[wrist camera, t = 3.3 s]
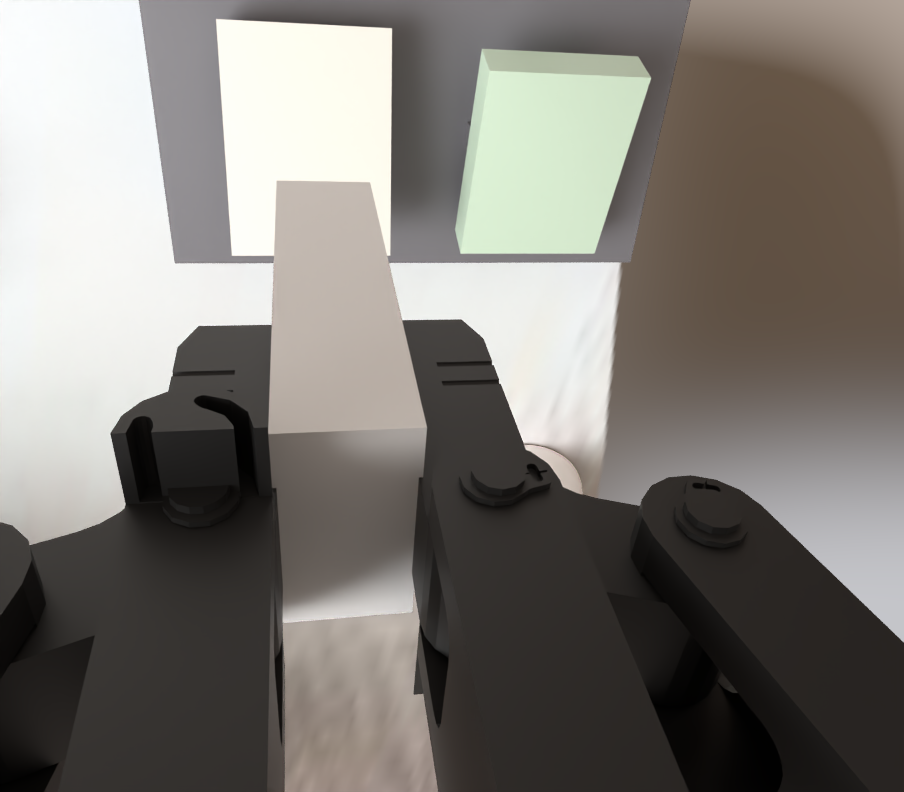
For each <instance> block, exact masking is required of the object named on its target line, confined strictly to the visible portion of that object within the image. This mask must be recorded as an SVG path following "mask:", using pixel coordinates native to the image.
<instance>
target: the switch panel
mask: <svg viewBox="0 0 904 792" xmlns="http://www.w3.org/2000/svg"><path fill="white" fill-rule="evenodd" d="M690 1H691V0H139V5H140V12H141V19H142V27H143V34H144V41H145V48H146V56H147V63H148V70H149V78H150V85H151V92H152V99H153V107H154V114H155V121H156V129H157V136H158V143H159V150H160V158H161V165H162V172H163V180H164V187H165V194H166V201H167V209H168V216H169V223H170V231H171V238H172V245H173V253H174V260H175V263H274V256H232V249H231V235H230V220H229V205H228V190H227V175H226V160H225V145H224V130H223V115H222V100H221V86H220V71H219V56H218V41H217V26H216V19H225V20H243V21H262V22H281V23H300V24H319V25H338V26H357V27H376V28H392V95H391V231H390V256H387V257H388V262H389V263H497V262H630V261H631V256H632V252H633V248H634V243H635V239H636V235H637V231H638V226H639V222H640V217H641V213H642V209H643V204H644V200H645V195H646V191H647V187H648V183H649V179H650V174H651V170H652V165H653V161H654V157H655V153H656V148H657V143H658V140H659V135H660V131H661V127H662V122H663V118H664V113H665V109H666V105H667V101H668V96H669V92H670V87H671V83H672V79H673V75H674V70H675V66H676V62H677V57H678V53H679V48H680V44H681V40H682V35H683V31H684V26H685V22H686V18H687V14H688V9H689V5H690ZM482 49H499V50H519V51H540V52H560V53H580V54H601V55H621V56H638V57H639V59H640V60H641V62H642V64H643V65H644V67H645V68H646V70H647V72H648V73H649V75H650V77H651V80H650V83H649V86H648V90H647V93H646V96H645V99H644V102H643V105H642V108H641V111H640V114H639V117H638V120H637V124H636V127H635V130H634V133H633V136H632V139H631V142H630V145H629V148H628V151H627V154H626V158H625V161H624V164H623V167H622V170H621V173H620V176H619V179H618V182H617V185H616V188H615V192H614V195H613V198H612V201H611V204H610V207H609V210H608V213H607V216H606V219H605V222H604V226H603V229H602V232H601V235H600V238H599V241H598V244H597V247H596V250H595V253H594V254H461V253H460V249H459V245H458V241H457V236H456V232H455V227H456V220H457V213H458V206H459V200H460V193H461V186H462V179H463V173H464V166H465V159H466V153H467V146H468V139H469V132H470V126H471V119H472V112H473V105H474V99H475V92H476V85H477V79H478V72H479V65H480V58H481V52H482Z"/></svg>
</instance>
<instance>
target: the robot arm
mask: <svg viewBox="0 0 904 792" xmlns="http://www.w3.org/2000/svg"><path fill="white" fill-rule="evenodd" d="M111 438H112V443H113V448H114V452H115V457H116V461H117V466H118V470H119V475H120V480H121V484H122V489H123V493H124V498H125V503H126V506H125V509H124V510H122V511H121V512H120V513H118V514H117V515H115V516H113V517H111V518H109V519H107V520H106V521H104V522H102V523H100V524H98V525H95V526H92V527H90V528H87V529H84V530H81V531H79V532H76V533H72V534H69V535H65V536H62V537H58V538H55V539H51V540H48V541H44V542H41V543H37V544H33V545H29V542H28V540H27V539H26V538H25V537H24V536H23V535H22V534H21V533H20V532H19V531H18V530H16V529H15V528H14V527H13V526H11V525H8V524H4V523H1V522H0V792H284V779H285V665H284V651H283V623H290V622H302V621H314V620H326V619H338V618H349V617H361V616H373V615H385V614H397V613H409V612H413V600H414V589H415V595H416V601H417V607H418V613H419V619H420V626H419V637H418V649H417V660H416V671H415V684H414V695H415V694H424V700H425V707H426V714H427V720H428V727H429V733H430V740H431V746H432V753H433V759H434V766H435V772H436V779H437V785H438V792H904V642H902V641H901V640H900V639H899V638H898V637H897V636H896V635H895V634H894V633H893V632H892V631H891V630H890V629H889V628H888V627H887V626H886V625H885V624H883V622H882V621H881V620H880V619H879V618H877V616H875V615H874V614H873V613H872V612H871V611H870V610H869V609H868V608H867V607H866V606H865V605H864V604H863V603H862V602H861V601H860V600H859V599H858V598H857V597H856V596H855V595H853V593H851V591H850V590H849V589H847V588H846V587H845V586H844V585H843V584H842V583H841V582H840V581H839V580H838V579H837V578H836V577H835V576H834V575H833V574H832V573H831V572H830V571H829V570H828V569H827V568H826V567H825V566H823V565H822V564H821V563H820V562H819V561H818V560H817V559H816V558H815V557H814V556H813V555H812V554H811V553H810V552H809V551H808V550H807V549H806V548H805V547H804V546H803V545H802V544H801V543H800V542H799V541H798V540H797V539H796V538H795V537H793V536H792V535H791V534H790V533H789V532H788V531H787V530H786V529H785V528H784V527H783V526H782V525H781V524H780V523H779V522H778V521H777V520H776V519H775V518H774V517H773V516H772V515H771V514H770V513H768V511H767V510H765V509H764V508H763V507H762V506H761V505H760V504H759V503H757V502H756V501H754V500H753V499H752V498H750V497H749V496H748V495H746V494H745V493H744V492H742V491H741V490H739V489H736V488H734V487H732V486H729V485H727V484H724V483H722V482H720V481H718V480H714V479H708V478H702V477H696V476H680V477H669V478H666V479H664V480H662V481H660V482H658V483H656V484H654V485H652V486H651V487H650V488H649V490H648V491H647V493H646V494H645V496H644V498H643V499H642V501H641V505H640V506H637V505H631V504H625V503H620V502H614V501H609V500H603V499H598V498H594V497H590V496H586V495H582V494H578V493H576V492H573V491H571V490H569V489H567V488H564V487H563V486H562V484H561V481H560V479H559V478H558V476H557V475H556V474H555V472H554V471H553V469H552V468H551V466H550V465H549V464H548V463H547V462H545V461H544V460H542V459H541V458H539V457H538V456H536V455H535V454H533V453H532V452H531V451H528V450H526V449H525V446H524V444H523V441H522V438H521V436H520V433H519V431H518V428H517V425H516V423H515V420H514V418H513V415H512V412H511V410H510V407H509V404H508V402H507V399H506V397H505V394H504V391H503V389H502V386H501V384H499V378H498V376H497V373H496V370H495V368H494V365H492V360H491V357H490V355H489V352H488V350H487V347H486V344H485V342H484V339H483V338H482V337H481V336H480V335H479V334H477V333H476V332H475V331H474V330H473V329H472V328H471V327H469V326H468V325H467V324H466V323H465V322H464V321H462V320H402V318H401V313H400V309H399V305H398V300H397V296H396V292H395V287H394V283H393V279H392V275H391V270H390V266H389V262H388V257H387V253H386V249H385V244H384V240H383V236H382V231H381V227H380V223H379V218H378V214H377V210H376V206H375V201H374V197H373V193H372V188H371V184H370V182H332V181H276V211H275V241H274V272H273V302H272V325H241V326H198V327H197V328H196V329H195V330H194V331H193V332H192V333H191V334H190V336H189V337H188V338H187V339H186V340H185V341H184V342H183V343H182V344H181V345H180V346H179V347H178V349H177V353H176V358H175V363H174V368H173V377H171V382H170V386H169V391H168V392H166V393H163V394H160V395H158V396H155V397H152V398H150V399H147V400H144V401H142V402H140V403H139V404H138V405H136V406H135V407H133V408H132V409H131V410H129V411H128V412H126V413H125V414H124V415H122V416H121V418H120V419H119V421H118V422H117V424H116V426H115V427H114V429H113V431H112V432H111Z"/></svg>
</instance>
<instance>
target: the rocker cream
mask: <svg viewBox="0 0 904 792" xmlns="http://www.w3.org/2000/svg"><path fill="white" fill-rule="evenodd" d="M216 26H217V41H218V56H219V71H220V86H221V100H222V115H223V130H224V145H225V160H226V175H227V190H228V205H229V220H230V235H231V249H232V256H274V241H275V211H276V181H332V182H370V184H371V188H372V193H373V197H374V201H375V206H376V210H377V214H378V218H379V223H380V227H381V231H382V236H383V240H384V244H385V249H386V253H387V256H390V231H391V95H392V28H376V27H357V26H338V25H319V24H300V23H281V22H262V21H243V20H225V19H216Z"/></svg>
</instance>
